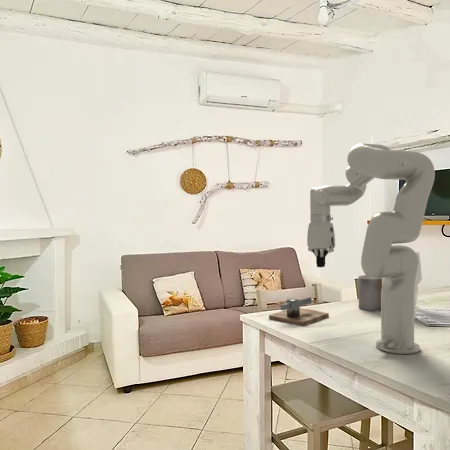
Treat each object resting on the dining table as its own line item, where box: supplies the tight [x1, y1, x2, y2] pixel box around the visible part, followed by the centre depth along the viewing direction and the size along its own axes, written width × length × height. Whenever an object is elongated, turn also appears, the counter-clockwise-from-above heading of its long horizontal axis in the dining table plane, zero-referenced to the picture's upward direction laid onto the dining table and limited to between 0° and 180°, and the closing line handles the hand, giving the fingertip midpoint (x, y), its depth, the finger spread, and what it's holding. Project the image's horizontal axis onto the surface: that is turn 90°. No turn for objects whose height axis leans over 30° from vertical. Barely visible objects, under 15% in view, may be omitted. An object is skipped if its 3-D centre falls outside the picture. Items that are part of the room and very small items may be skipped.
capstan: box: [280, 296, 312, 317], centre depth 174 cm, size 18×5×6 cm, turn 135°
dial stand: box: [268, 307, 330, 327], centre depth 176 cm, size 18×16×2 cm
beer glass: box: [414, 279, 419, 320], centre depth 174 cm, size 7×7×15 cm
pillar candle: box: [357, 274, 383, 312], centre depth 190 cm, size 10×10×15 cm
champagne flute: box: [415, 251, 423, 312], centre depth 188 cm, size 7×7×24 cm
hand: (320, 266), depth 172 cm, fingers closed
